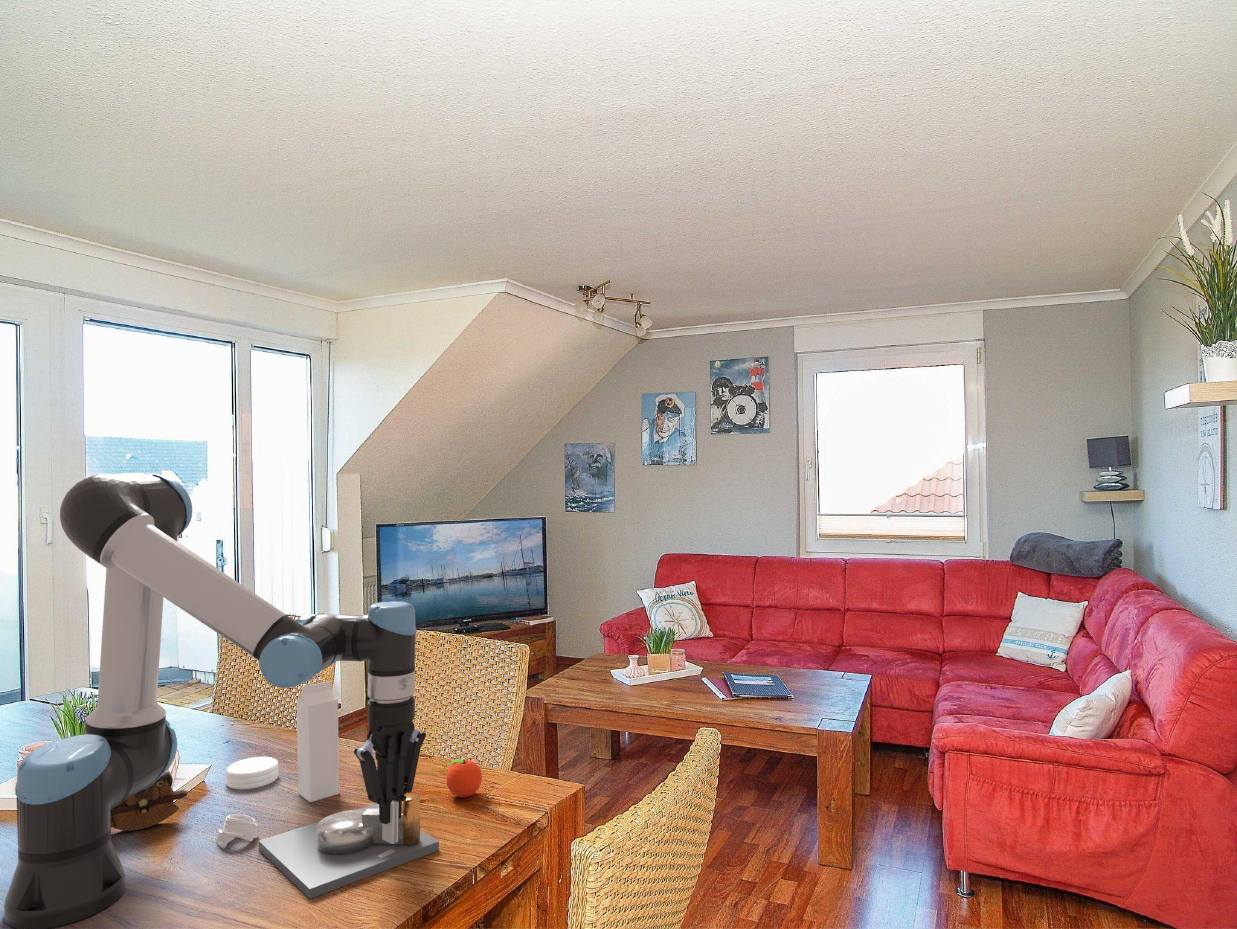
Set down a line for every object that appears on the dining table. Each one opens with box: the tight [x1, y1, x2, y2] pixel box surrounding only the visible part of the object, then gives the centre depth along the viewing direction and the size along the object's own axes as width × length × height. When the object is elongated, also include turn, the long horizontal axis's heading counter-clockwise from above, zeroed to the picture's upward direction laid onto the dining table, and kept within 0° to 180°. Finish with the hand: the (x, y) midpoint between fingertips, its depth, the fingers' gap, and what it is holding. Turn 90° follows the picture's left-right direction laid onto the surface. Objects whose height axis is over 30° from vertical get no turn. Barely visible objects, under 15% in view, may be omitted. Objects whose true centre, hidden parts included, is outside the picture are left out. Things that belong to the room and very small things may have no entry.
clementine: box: [443, 759, 483, 798], centre depth 161 cm, size 8×7×7 cm
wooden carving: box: [111, 770, 189, 832], centre depth 148 cm, size 16×5×10 cm, turn 123°
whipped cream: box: [216, 813, 259, 849], centre depth 143 cm, size 8×7×5 cm
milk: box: [296, 680, 340, 803], centre depth 162 cm, size 6×6×22 cm
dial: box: [317, 794, 421, 854], centre depth 138 cm, size 18×10×7 cm, turn 85°
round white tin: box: [225, 756, 280, 790], centre depth 170 cm, size 10×10×4 cm
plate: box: [258, 803, 440, 900], centre depth 139 cm, size 22×22×2 cm
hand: (390, 840), depth 134 cm, fingers closed
